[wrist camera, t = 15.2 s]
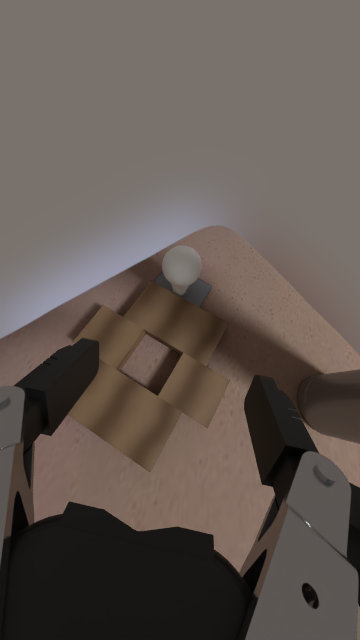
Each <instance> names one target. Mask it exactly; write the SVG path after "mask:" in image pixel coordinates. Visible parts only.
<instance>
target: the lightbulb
mask: <svg viewBox="0 0 360 640" xmlns="http://www.w3.org/2000/svg"><path fill="white" fill-rule="evenodd" d="M162 270H163V274H164V276H165V278H166V279H167V280H168V281H169V282H170V283H171V285H172V287H173V292H174V293H175V294H176V295H183V294H185V292H186V290H187V288H188V286H189V285H191V284H192V283H194V282H195V281H196V280H197V279H198V277H199V276H200V274H201V270H202V262H201V259H200V256H199V254H198V253H197V252H196V251H195V250H194V249H192V248H191V247H188V246H176V247H173V248H172V249H170V250H169V251H168V252H167V253H166V255H165V256H164V258H163V262H162Z"/></svg>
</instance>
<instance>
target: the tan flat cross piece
mask: <svg viewBox="0 0 360 640" xmlns="http://www.w3.org/2000/svg"><path fill="white" fill-rule="evenodd" d="M228 324H229V323H227V322H225V321H223V320H221V319H219V318H218V317H216V316H214V315H212V314H210V313H209V312H207V311H205V310H203V309H201V308H200V307H198V306H196V305H194V304H192V303H190V302H189V301H187V300H185V299H183V298H181V297H180V296H178V295H176V294H174V293H172V292H171V291H169V290H167V289H165V288H163V287H162V286H160V285H158V284H156V283H154V282H152V281H150V282H149V283H148V285H147V286H146V287H145V289H144V290H143V291H142V293H141V294H140V295H139V297H138V298H137V299H136V301H135V302H134V303H133V305H132V306H131V307H130V309H129V310H128V311H127V312H126V314H125V315H124V316H121V315H119V314H118V313H116V312H114V311H112V310H111V309H109V308H107V307H106V306H104V305H103V306H102V307H101V308H100V309H99V310H98V312H97V313H96V314H95V315H94V317H93V318H92V319H91V320H90V321H89V323H88V324H87V325H86V326H85V327H84V329H83V330H82V331H81V332H80V334H79V335H78V336H77V337H76V338H75V340H74V341H73V342H74V343H77V342H78V341H79V340H80V339H81V338H86V339H91V340H96V341H98V342H99V369H98V373H97V375H96V377H95V378H94V380H93V381H92V382H91V384H90V385H89V386H88V388H87V389H86V390H85V392H84V393H83V394H82V396H81V397H80V398H79V400H78V401H77V402H76V404H75V405H74V406H73V408H72V409H71V410H70V412H69V413H68V415H69V416H71V417H72V418H74V419H75V420H76V421H78V422H79V423H81V424H82V425H84V426H85V427H86V428H88V429H89V430H91V431H92V432H93V433H95V434H96V435H98V436H99V437H101V438H102V439H103V440H105V441H106V442H108V443H109V444H110V445H112V446H113V447H115V448H116V449H118V450H119V451H120V452H122V453H123V454H125V455H126V456H127V457H129V458H130V459H132V460H133V461H135V462H136V463H137V464H139V465H140V466H142V467H143V468H144V469H146V470H147V471H149V472H151V470H152V468H153V466H154V464H155V462H156V461H157V459H158V457H159V455H160V453H161V451H162V449H163V447H164V445H165V444H166V442H167V440H168V438H169V436H170V434H171V432H172V430H173V428H174V426H175V425H176V423H177V421H178V419H179V417H180V415H181V413H182V412H183V413H185V414H186V415H188V416H189V417H191V418H193V419H194V420H196V421H197V422H199V423H200V424H202V425H203V426H205V427H207V428H208V426H209V424H210V422H211V420H212V418H213V416H214V413H215V411H216V409H217V407H218V405H219V403H220V401H221V399H222V396H223V394H224V392H225V390H226V388H227V386H228V384H229V382H230V380H229V379H227V378H225V377H224V376H222V375H220V374H218V373H217V372H215V371H213V370H212V369H210V368H208V367H207V364H208V362H209V360H210V358H211V356H212V355H213V353H214V351H215V349H216V347H217V345H218V343H219V341H220V339H221V338H222V336H223V334H224V332H225V330H226V328H227V326H228ZM145 334H147V335H149V336H150V337H152V338H154V339H156V340H157V341H159V342H161V343H162V344H164V345H166V346H167V347H169V348H171V349H172V350H174V351H176V352H177V353H179V354H181V355H182V356H181V358H180V359H179V361H178V363H177V364H176V366H175V368H174V370H173V371H172V373H171V375H170V376H169V378H168V380H167V381H166V383H165V385H164V387H163V388H162V390H161V392H160V393H159V395H156V394H154V393H153V392H151V391H150V390H148V389H147V388H145V387H144V386H142V385H140V384H139V383H137V382H136V381H134V380H133V379H131V378H129V377H128V376H126V375H125V374H123V373H122V372H120V370H121V369H122V367H123V366H124V364H125V363H126V361H127V360H128V358H129V357H130V355H131V354H132V353H133V351H134V350H135V348H136V347H137V345H138V344H139V342H140V341H141V339H142V338H143V337H144V335H145Z"/></svg>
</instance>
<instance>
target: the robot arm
mask: <svg viewBox="0 0 360 640" xmlns="http://www.w3.org/2000/svg"><path fill="white" fill-rule="evenodd" d="M98 369H99V342H98V341H96V340H91V339H86V338H81V339H80V340H79V341H78V342H77V343H75V344H74V345H73V346H70V345H69V346H66V347H64V348H62V349H59V350H58V351H56V352H55V353H54V354H53V355H51V356H50V358H48V359H46V360H45V361H44V362H43V364H40V365H39V366H38V367H37V368H35V369H34V370H33V371H32V372H30V373H29V374H28V375H27V376H25V377H24V378H23V379H22V380H20V381H19V382H18V383H17V384H15V385H14V386H4V387H0V640H357V613H358V604H359V606H360V488H359V487H357V486H355V485H353V484H351V483H349V482H348V480H347V478H346V476H345V475H344V474H343V472H342V471H341V470H340V469H339V468H338V467H337V466H336V465H335V464H334V463H333V462H332V461H331V460H329V459H328V458H326V457H325V456H323V455H321V454H319V452H318V450H317V448H316V446H315V445H314V443H313V441H312V439H311V437H310V435H309V433H308V431H307V429H306V428H305V426H304V424H303V422H302V420H300V419H301V418H300V416H299V414H298V412H296V409H295V407H294V405H293V403H292V401H291V400H290V399H289V397H288V396H287V395H286V394H285V393H284V392H283V391H280V390H278V388H277V386H276V384H275V381H274V380H273V378H269V377H264V376H260V375H255V377H254V378H253V381H252V383H251V385H250V388H249V390H248V393H247V395H246V397H245V402H244V410H245V415H246V419H247V423H248V428H249V432H250V436H251V440H252V445H253V449H254V453H255V457H256V462H257V466H258V470H259V474H260V479H261V483H262V485H267V486H271V487H273V489H274V492H275V496H274V497H273V499H272V501H271V503H270V506H269V508H268V511H267V513H266V515H265V518H264V520H263V523H262V525H261V528H260V530H259V532H258V535H257V537H256V540H255V542H254V544H253V547H252V549H251V551H250V553H249V554H248V556H247V558H246V560H245V562H244V564H243V566H242V568H241V570H240V572H239V573H238V571H237V570H236V569H235V568H234V567H233V565H232V564H231V563H230V562H229V561H228V560H227V559H226V558H224V557H223V556H222V555H221V554H220V553H219V552H217V551H216V550H214V540H213V535H211V534H206V533H202V532H198V531H194V530H189V529H185V528H181V527H171V528H164V529H156V530H149V531H136V530H134V529H132V528H131V527H129V526H128V525H126V524H125V523H123V522H122V521H120V520H119V519H117V518H116V517H114V516H113V515H111V514H110V513H108V512H107V511H105V510H104V509H99V508H95V507H91V506H86V505H82V504H78V503H73V502H69V503H68V505H67V507H66V509H65V511H64V513H63V514H59V515H55V516H51V517H47V518H45V519H42V520H40V521H37V522H35V523H34V505H33V476H34V450H35V443H34V441H35V440H36V439H37V437H38V436H39V435H40V434H45V435H49V436H52V434H53V433H54V432H55V430H56V429H57V428H58V426H59V425H60V424H61V422H62V421H63V420H64V418H65V417H66V416H67V414H68V413H69V412H70V410H71V409H72V408H73V406H74V405H75V404H76V402H77V401H78V400H79V398H80V397H81V396H82V394H83V393H84V392H85V390H86V389H87V388H88V386H89V385H90V384H91V382H92V381H93V380H94V378H95V377H96V375H97V373H98ZM298 405H299V409H300V411H301V414H302V415H303V417H304V419H305V420H306V422H307V423H308V424H309V425H310V426H311V427H312V428H313V429H315V430H316V431H318V432H319V433H321V434H324V435H327V436H331V437H335V438H339V439H343V440H347V441H351V442H354V443H358V444H360V370H352V371H345V372H337V373H330V374H322V375H315V376H311V377H309V378H307V379H306V380H304V382H303V383H302V384H301V386H300V388H299V391H298Z"/></svg>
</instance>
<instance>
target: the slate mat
mask: <svg viewBox="0 0 360 640" xmlns="http://www.w3.org/2000/svg"><path fill="white" fill-rule="evenodd" d="M154 283H156V284H158V285H160V286H162V287H163V288H165V289H167V290H169V291H171V292H172V293H174V292H173V287H172V285H171V283H170V282H169V281H168V280H167V279H166V278H165V276H164V274H163V271H162V273H161V274H160V275H159V277H158V278H157V279H156V281H155V282H154ZM211 288H212V286H211V285H210V284H208V283H206V282H204V281H202V280H200V279H197V280H196V281H195V282H194V283H192V284H191V285H189V286H188V288H187V290H186V292H185V294H183V295H178V296H180V297H181V298H183V299H185V300H187V301H189V302H190V303H192V304H194V305H196V306H198V307H200V306H201V304H202V303H203V301H204V299H205V298H206V296H207V294H208V293H209V291H210V290H211ZM174 294H175V293H174Z"/></svg>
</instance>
